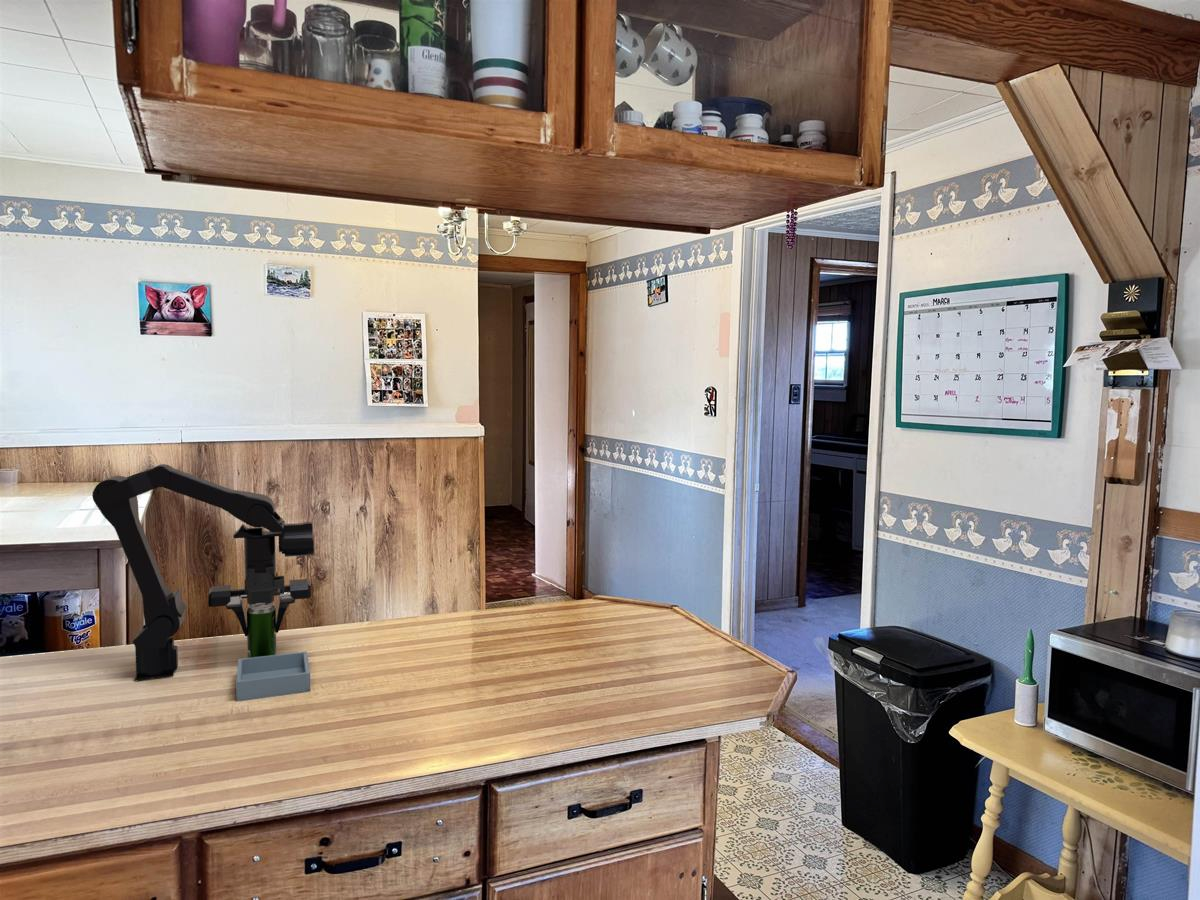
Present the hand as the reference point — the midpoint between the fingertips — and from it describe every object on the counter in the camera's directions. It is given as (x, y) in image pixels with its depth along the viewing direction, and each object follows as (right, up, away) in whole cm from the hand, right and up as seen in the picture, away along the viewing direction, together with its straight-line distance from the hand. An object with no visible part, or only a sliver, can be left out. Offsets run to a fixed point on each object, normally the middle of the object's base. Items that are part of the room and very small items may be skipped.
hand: (261, 633), depth 157 cm
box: (+7, -7, -10) cm, 14 cm away
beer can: (0, -6, +1) cm, 6 cm away
